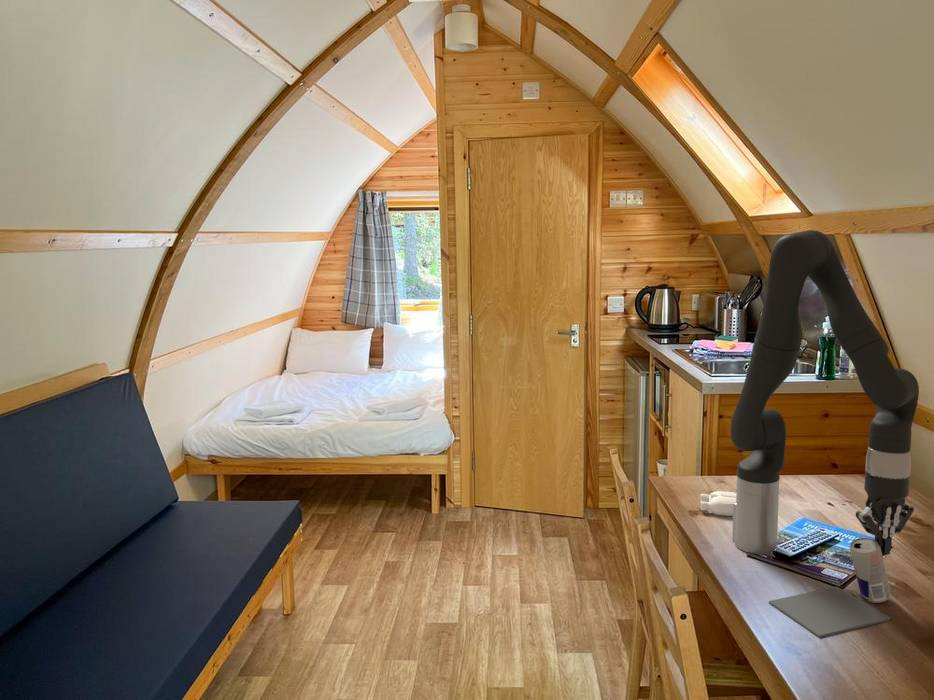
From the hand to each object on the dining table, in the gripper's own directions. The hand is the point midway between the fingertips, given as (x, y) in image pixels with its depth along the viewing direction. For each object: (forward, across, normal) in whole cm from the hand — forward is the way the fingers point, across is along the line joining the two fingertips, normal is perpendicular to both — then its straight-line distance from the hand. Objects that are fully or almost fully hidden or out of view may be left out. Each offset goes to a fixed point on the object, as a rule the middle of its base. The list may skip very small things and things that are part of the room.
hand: (882, 553), depth 138 cm
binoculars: (+10, -2, -48) cm, 49 cm away
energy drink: (+9, +1, 0) cm, 9 cm away
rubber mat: (+10, +13, 0) cm, 16 cm away
